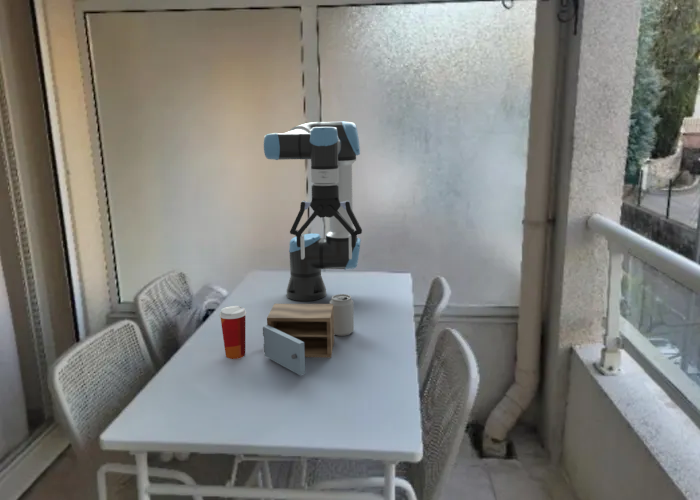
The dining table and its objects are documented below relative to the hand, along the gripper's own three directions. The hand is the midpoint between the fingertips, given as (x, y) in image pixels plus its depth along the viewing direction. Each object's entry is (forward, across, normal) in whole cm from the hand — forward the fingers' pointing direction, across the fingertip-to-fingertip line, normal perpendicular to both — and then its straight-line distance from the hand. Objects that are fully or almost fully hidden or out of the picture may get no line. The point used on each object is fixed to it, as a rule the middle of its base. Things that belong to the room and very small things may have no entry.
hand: (326, 258), depth 162 cm
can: (+28, +3, +13) cm, 31 cm away
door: (+27, -12, -13) cm, 32 cm away
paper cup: (+28, -27, -5) cm, 39 cm away
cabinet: (+28, -8, 0) cm, 29 cm away
